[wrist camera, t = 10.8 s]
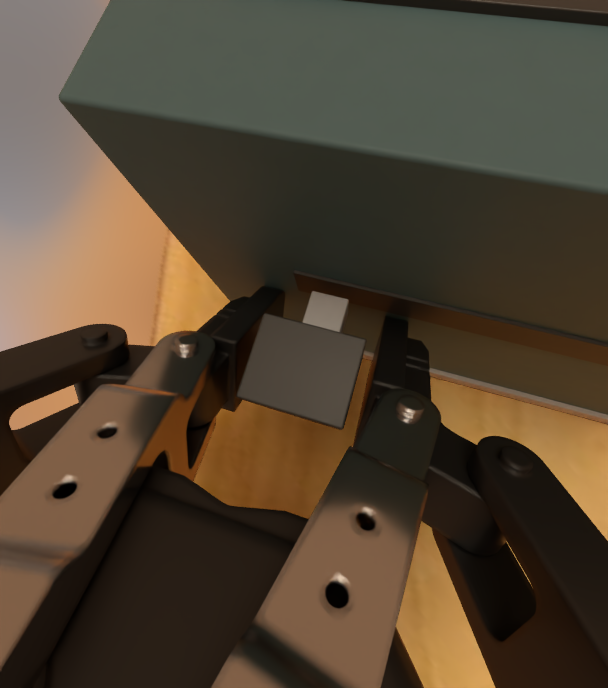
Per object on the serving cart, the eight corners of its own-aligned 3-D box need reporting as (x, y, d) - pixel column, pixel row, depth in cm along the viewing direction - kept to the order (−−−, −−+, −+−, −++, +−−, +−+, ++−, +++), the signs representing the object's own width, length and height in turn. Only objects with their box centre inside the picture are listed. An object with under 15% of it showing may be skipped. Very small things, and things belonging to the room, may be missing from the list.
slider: (342, 430, 10) (343, 430, 7) (265, 407, 11) (234, 396, 8) (369, 328, 11) (380, 288, 8) (296, 310, 11) (279, 264, 8)
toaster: (611, 425, 14) (1796, 398, 3) (243, 326, 17) (29, 96, 5) (635, 208, 17) (1357, -338, 5) (304, 150, 19) (246, -289, 8)
